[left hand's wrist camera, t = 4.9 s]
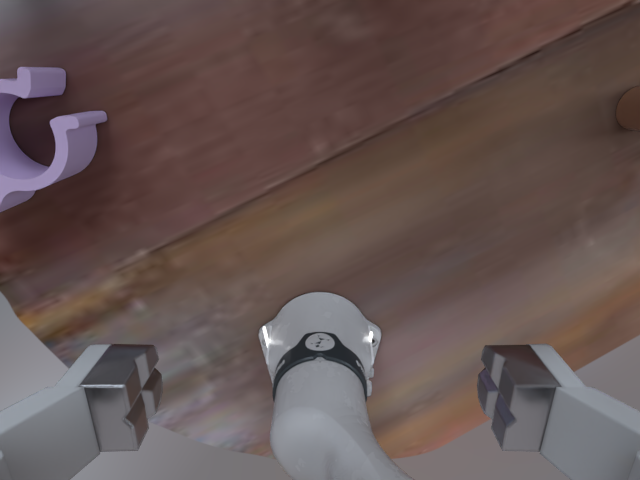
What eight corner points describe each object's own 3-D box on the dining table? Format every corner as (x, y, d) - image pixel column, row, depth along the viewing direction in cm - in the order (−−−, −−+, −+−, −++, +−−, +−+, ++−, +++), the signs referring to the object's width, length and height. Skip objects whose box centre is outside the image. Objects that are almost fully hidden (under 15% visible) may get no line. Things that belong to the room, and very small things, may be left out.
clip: (27, 224, 60) (-8, 242, 54) (-51, 154, 56) (-99, 165, 50) (123, 131, 55) (97, 138, 49) (44, 49, 52) (4, 46, 45)
